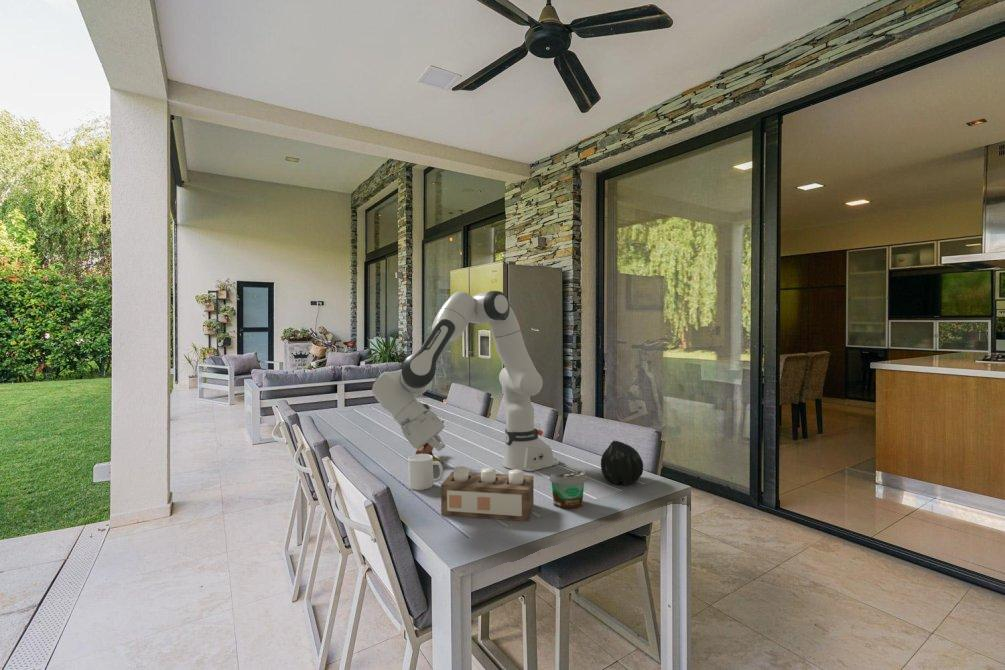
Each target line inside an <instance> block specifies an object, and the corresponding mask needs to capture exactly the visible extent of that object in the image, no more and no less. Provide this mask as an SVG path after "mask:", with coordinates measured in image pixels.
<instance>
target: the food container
mask: <svg viewBox="0 0 1005 670" xmlns="http://www.w3.org/2000/svg"><path fill="white" fill-rule="evenodd" d="M548 481H550V482H551V490H552V500H553V506H554V507H555V508H558V509H563V510H576V509H579V508H581V507H582V506H583V500H584V490H585V489H584V488H585V482H586V481H587V474H586V471H585V470H584V469H583V468H582V469H581V471H578V472H565V473H563V474H559V475H555V474H552V473H551V474H550V477H549V480H548Z"/></svg>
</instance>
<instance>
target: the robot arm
mask: <svg viewBox="0 0 1005 670" xmlns="http://www.w3.org/2000/svg"><path fill="white" fill-rule="evenodd" d="M486 323H487V324H488V325H489V326H490V329H491V335H492V339H493V342H494V346H495V349H496V353H497V356H498V358H499V359H500V360H501V362H502V364H503V366H504V367H503V368H502V369H501V370H500V373H499V375H498V380H499V383H500V386H501V390H502V395H503V400H504V405H505V419H506V420H505V422H506V423H505V426H506V427H505V429H504V432H505V433H504V441H505V450H504V455H503V456H504V457H503V460H502V464H501V465H502V466H503V467H504V468H506V469H507V468H508V469H510V470H514V469H518V470H522V471H527V472H533V471H537V470H541V469H545V468H549V467H553V465H554V466H558V465H560V463H559V459H558V458H556V457H555V456H554V455H553V449H552V447H551V446H550V444H549V443H546V442H545V441H544V440H543V439H541V438H540V437H539V436H543V435H544V432H543V430H541V429H537V428H535V409H534V406H533V404H532V402H531V397H533V396H536V395H538V394H539V393H540V392H541V390H542V388H543V383H544V381H543V377H542V376H541V374H540V373H539V372H538V370H537V369H536V367H535V365H534V362H533V361H532V359H531V357H530V355H529V353H528V350H527V348H526V344H525V341H524V338H523V333H522V330H521V327H520V324H519V321H518V319H517V316H516V314H515V311H514V310H513V308H512V307H511V306H510V302H509V299H508V297H507V295H506V294H505V293H503V292H502V291H501V290H499V291H498V290H489V291H485V292H479V293H477V294H474V295H471V294H470V293H468V292H466V291H461V290H460V291H455V292H453V294H452V295H451V296H449V298H448V299H447V300H446V301H445V302H444V303H443V304H442V306H441V308H440V309H439V310H438V312H437V314H436V316H435V318H434V320H433V323H432V325H431V332H429V333H430V334H429V335H428V336H427V337H426V339H425V341H424V342H423V344H422V345H421V347H420V348H419V349H418V350H417V351H415V352H414V353H412V354H410V355H408V356H407V357H406V358H405V360H404V361H403V362H402V365H401V369H398V370H394V371H383V372H382V373H380V374H379V375H378V377H377V378H376V379H375V380H374V382H373V384H372V388H371V393H372V395H373V396H374V398H375V400H377V403H379V404H380V405H381V406H382V407H383V408H384V409H385V410H386V411H387V412H388V413H390V414H391V416H392V418H393V419H394V420H395V421H396V422H397V424H398V425H399V426H400V429H401V430H402V434H403V436H404V438H405V439H407V441H408V443H409V444H410V445H411V446H412V447H413V448H415V449H416V450H418V449H419V448H421V447H422V446H423V445H424V444H426V443H428V444H429V445H431V446H432V447H433V449H436V450H437V452H441V451H442V450H443V449H444V448H446V444H445V443H444V442H443V441H442V440H443V439H441V438H442V437H441V436H440V435H439V434H440V433H441V432H442V431H443V430H444V429H445V425H444V423H443V422H444V421H443V420H441V419H440V418H439V416H438V415H437V414H436V413H435V411H433V410H431V409H432V408H431V406H430V405H429V404H427V403H422V402H419V401H418V400H417V399H416V398H419V396H421V395H424V393H425V392H426V391H427V390H428V389H429V386H430V384H431V382H432V380H433V379H434V377H435V374H436V370H437V362H438V359H439V358H440V356H441V354H442V352H443V351H444V350H445V348H446V347H447V346H448V345H447V344H448V343H454V342H457V340H458V339H460V337H461V336H462V335H463V333H464V332H465V330H466V329H467V327H468V325H476V324H486ZM442 421H443V422H442Z"/></svg>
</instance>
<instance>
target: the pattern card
mask: <svg viewBox="0 0 1005 670" xmlns="http://www.w3.org/2000/svg"><path fill="white" fill-rule="evenodd" d="M447 511H455V512H469V513H483V514H498V515H512V516H522V495H517V494H501V493H486V492H470V491H454V490H447Z"/></svg>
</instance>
